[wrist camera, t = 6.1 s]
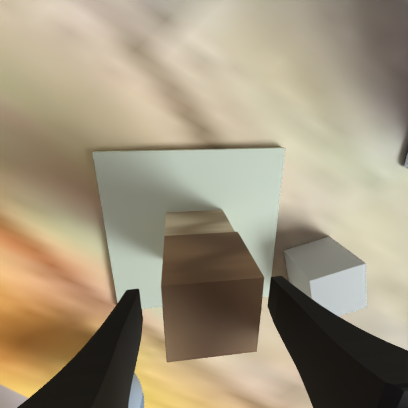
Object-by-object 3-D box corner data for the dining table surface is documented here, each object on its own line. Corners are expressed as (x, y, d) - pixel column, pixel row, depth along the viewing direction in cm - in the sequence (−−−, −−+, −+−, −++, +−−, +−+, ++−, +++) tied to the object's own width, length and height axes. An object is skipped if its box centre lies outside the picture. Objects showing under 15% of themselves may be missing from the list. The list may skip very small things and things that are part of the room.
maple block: (222, 209, 19) (236, 235, 15) (221, 257, 20) (234, 293, 16) (166, 212, 18) (164, 240, 14) (169, 261, 20) (168, 300, 16)
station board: (282, 147, 18) (285, 148, 18) (266, 292, 23) (269, 296, 22) (94, 151, 17) (92, 152, 16) (120, 306, 21) (118, 311, 21)
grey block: (328, 235, 22) (365, 263, 18) (331, 273, 23) (366, 307, 19) (283, 249, 22) (309, 280, 18) (289, 287, 23) (315, 323, 19)
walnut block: (237, 231, 14) (264, 277, 10) (234, 290, 16) (256, 351, 12) (164, 235, 14) (160, 286, 10) (168, 296, 15) (166, 362, 11)
